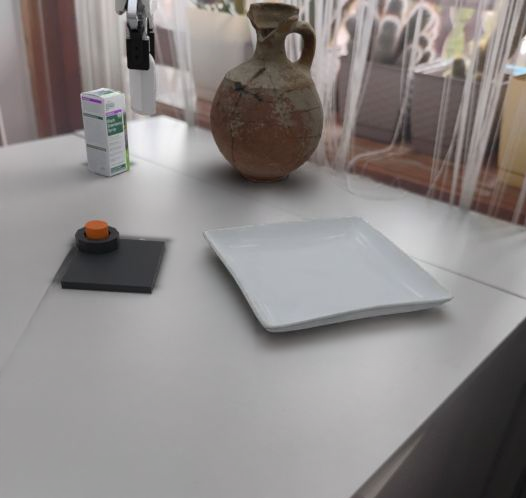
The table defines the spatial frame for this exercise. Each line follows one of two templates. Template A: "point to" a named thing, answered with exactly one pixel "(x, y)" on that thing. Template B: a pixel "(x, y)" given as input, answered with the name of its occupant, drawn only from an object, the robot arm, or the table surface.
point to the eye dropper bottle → (143, 89)
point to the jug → (269, 100)
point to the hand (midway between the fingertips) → (141, 63)
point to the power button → (96, 229)
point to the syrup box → (105, 131)
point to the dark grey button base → (113, 264)
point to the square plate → (322, 272)
